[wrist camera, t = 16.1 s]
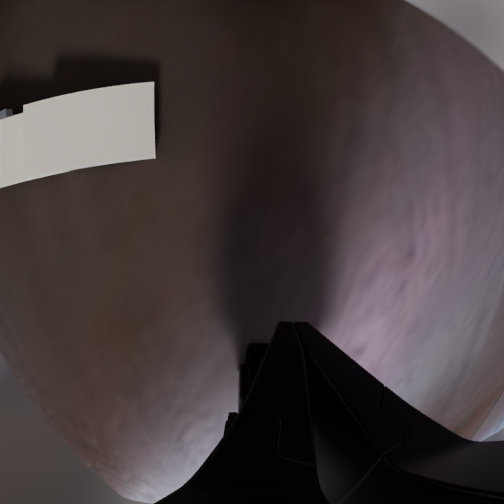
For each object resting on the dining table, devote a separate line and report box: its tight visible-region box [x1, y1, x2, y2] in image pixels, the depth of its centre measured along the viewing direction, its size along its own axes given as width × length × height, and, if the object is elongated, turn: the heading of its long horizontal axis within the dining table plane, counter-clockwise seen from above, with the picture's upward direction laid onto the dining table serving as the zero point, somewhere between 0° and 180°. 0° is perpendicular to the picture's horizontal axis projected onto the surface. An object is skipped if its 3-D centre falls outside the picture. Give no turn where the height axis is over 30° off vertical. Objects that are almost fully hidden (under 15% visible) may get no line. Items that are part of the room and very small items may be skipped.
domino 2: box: [23, 82, 156, 179], centre depth 16 cm, size 2×5×9 cm
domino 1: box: [0, 113, 72, 188], centre depth 15 cm, size 2×5×9 cm
